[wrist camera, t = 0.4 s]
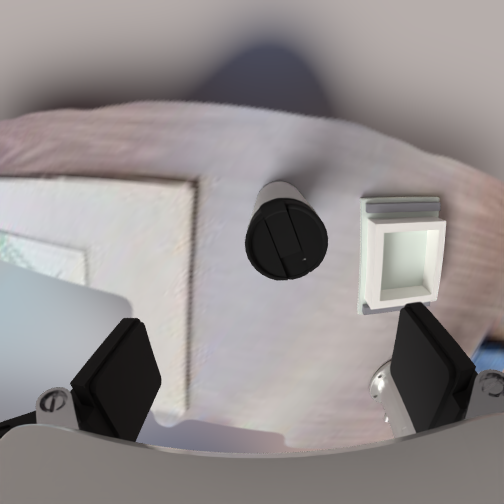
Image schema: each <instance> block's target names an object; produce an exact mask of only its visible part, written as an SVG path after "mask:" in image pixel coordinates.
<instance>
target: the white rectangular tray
mask: <svg viewBox="0 0 504 504" xmlns="http://www.w3.org/2000/svg"><path fill="white" fill-rule="evenodd" d="M440 204H441V203H439V197H378V198H360V268H359V289H358V305H357V313H358V315H362V314H363V315H369V314H377V313H384V312H392V311H399V310H401V309H402V308H404V307H405V305H406V304H407V303H413V302H422V303H423V304H424V305H425V306H430V301H436V300H437V295H438V290H439V283H440V277H441V270H442V262H443V253H444V243H445V232H446V221H445V220H443V219H440V218H439V211H440Z"/></svg>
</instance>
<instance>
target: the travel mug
mask: <svg viewBox="0 0 504 504" xmlns="http://www.w3.org/2000/svg"><path fill="white" fill-rule="evenodd" d="M327 247H328V236H327V231H326V228H325V226H324V224H323V222H322V221H321V219H320V218H319V216H318V215H317V213H316V212H315V211H314V209H313V208H312V207H311V206H310V204H309V203H308V202H307V201H306V200H305V198H304V197H303V196H302V195H301V194H300V192H299V191H298V190H297V189H296V188H295V187H294V186H293V185H291V184H289V183H287V182H283V181H275V182H271V183H269V184H267V185H266V186H264V187H263V188H262V189H261V190H260V192H259V194H258V196H257V199H256V203H255V206H254V209H253V212H252V215H251V218H250V222H249V225H248V230H247V234H246V239H245V248H246V253H247V256H248V259H249V261H250V262H251V264H252V266H253V267H254V268H255V269H256V270H257V271H258V272H260V273H261V274H262V275H264V276H266V277H268V278H270V279H274V280H288V279H291V280H293V279H297V278H300V277H302V276H305V275H307V274H308V273H309V272H311V271H313V270H314V269H315V268H317V267H318V266H319V265H320V263H321V262H322V261H323V259H324V257H325V254H326V251H327Z"/></svg>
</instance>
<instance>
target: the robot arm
mask: <svg viewBox="0 0 504 504" xmlns="http://www.w3.org/2000/svg"><path fill="white" fill-rule="evenodd" d="M475 368H476V366H475V365H474V364H473V362H472V361H471V360H470V358H469V357H468V356H467V355H466V353H465V352H464V351H463V350H462V348H461V347H460V346H459V345H458V344H457V342H456V341H455V340H454V339H453V338H452V336H451V335H450V334H449V333H448V332H447V330H446V329H445V328H444V327H443V326H442V325H441V323H440V322H439V321H438V320H437V319H436V318H435V317H434V315H433V314H432V313H431V312H430V311H429V310H428V309H427V308H426V306H425V305H424V304H423V303H422V302H413V303H407V304H406V305H405V307H404V308H402V309H401V310H400V316H399V322H398V328H397V334H396V340H395V345H394V350H393V355H392V360H391V361H389V362H388V363H386V364H385V365H383V366H382V367H381V368H380V369H379V370H378V371H377V372H376V373H375V375H374V376H373V378H372V379H371V382H370V385H369V391H370V395H371V397H372V398H373V400H375V401H376V402H378V403H382V404H383V407H384V410H385V415H384V421H385V422H389V424H390V426H391V429H392V432H393V435H394V439H389V440H384V441H379V442H374V443H369V444H363V445H357V446H350V447H343V448H336V449H327V450H317V451H307V452H292V453H265V454H264V453H263V454H262V453H259V454H258V453H250V454H249V453H221V452H220V453H219V452H206V451H194V450H184V449H176V448H168V447H161V446H154V445H148V444H143V443H137V442H135V441H136V439H137V437H138V434H139V432H140V430H141V428H142V426H143V423H144V421H145V419H146V417H147V414H148V412H149V410H150V408H151V406H152V403H153V401H154V399H155V397H156V395H157V392H158V390H159V388H160V386H161V375H160V372H159V369H158V366H157V363H156V360H155V357H154V354H153V351H152V348H151V345H150V341H149V338H148V335H147V331H146V328H145V325H144V323H143V322H140V320H139V319H138V318H123V319H122V320H121V321H120V323H119V324H118V325H117V326H116V327H115V329H114V330H113V331H112V332H111V333H110V334H109V336H108V337H107V338H106V339H105V341H104V342H103V343H102V344H101V345H100V347H99V348H98V349H97V350H96V352H95V353H94V354H93V355H92V356H91V358H90V359H89V360H88V361H87V363H86V364H85V365H84V366H83V368H82V369H81V370H80V371H79V373H78V374H77V375H76V376H75V378H74V379H73V380H72V381H71V383H70V384H71V386H72V388H73V389H72V390H71V391H68V390H67V389H65V388H63V387H56V388H51V389H49V390H47V391H45V392H44V393H42V394H41V395H40V397H39V398H38V400H37V402H36V411H33V412H30V413H28V414H25V415H21V416H18V417H15V418H12V419H9V420H6V421H3V422H1V423H0V504H504V373H503V372H500V371H497V370H491V369H490V370H484V371H482V372H480V373H479V374H478V373H477V372H476V371H475Z"/></svg>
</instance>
